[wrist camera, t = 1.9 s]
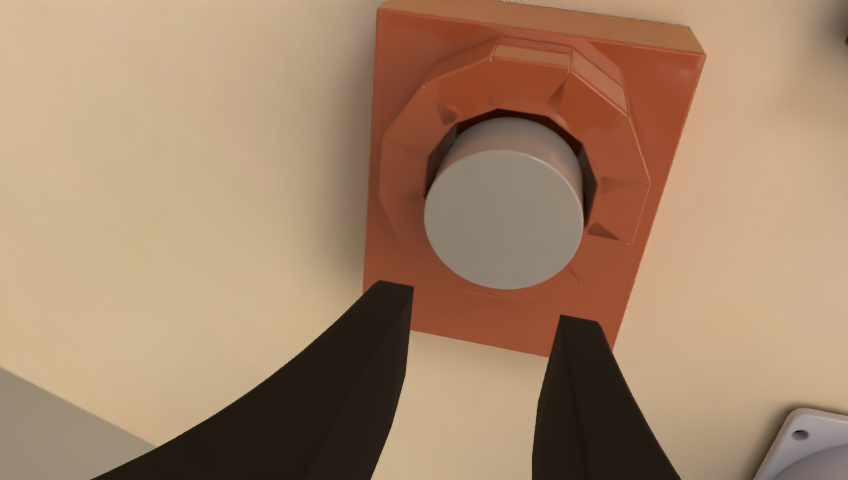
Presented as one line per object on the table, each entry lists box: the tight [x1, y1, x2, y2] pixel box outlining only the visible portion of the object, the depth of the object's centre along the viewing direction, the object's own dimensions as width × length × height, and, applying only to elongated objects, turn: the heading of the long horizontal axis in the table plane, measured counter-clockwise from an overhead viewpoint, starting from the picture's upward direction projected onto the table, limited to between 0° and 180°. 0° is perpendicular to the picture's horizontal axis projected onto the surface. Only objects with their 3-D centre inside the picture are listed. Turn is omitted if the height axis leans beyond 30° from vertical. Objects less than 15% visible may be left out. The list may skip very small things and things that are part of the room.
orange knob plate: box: [363, 0, 706, 357], centre depth 19 cm, size 10×8×4 cm
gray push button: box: [424, 117, 584, 289], centre depth 16 cm, size 4×4×2 cm
